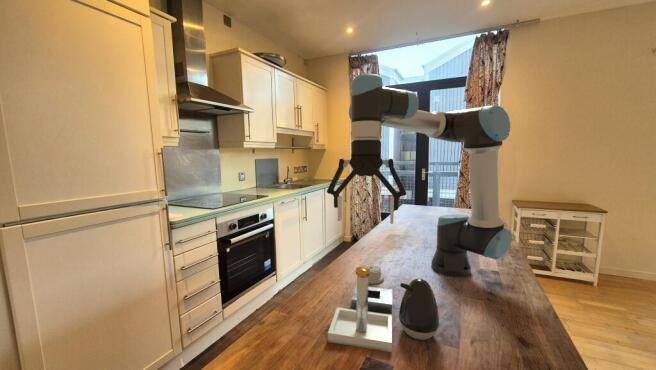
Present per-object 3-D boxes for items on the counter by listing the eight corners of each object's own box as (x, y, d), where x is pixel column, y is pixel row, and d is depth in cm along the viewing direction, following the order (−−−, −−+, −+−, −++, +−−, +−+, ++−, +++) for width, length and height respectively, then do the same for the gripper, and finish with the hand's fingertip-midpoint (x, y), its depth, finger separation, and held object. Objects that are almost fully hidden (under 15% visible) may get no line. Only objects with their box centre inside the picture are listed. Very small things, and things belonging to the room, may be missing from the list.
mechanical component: (357, 283, 102) (384, 285, 101) (357, 272, 102) (384, 274, 100) (358, 272, 112) (383, 274, 110) (358, 262, 112) (383, 263, 110)
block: (391, 302, 89) (392, 289, 88) (391, 318, 80) (392, 304, 79) (355, 298, 91) (355, 285, 91) (351, 313, 83) (351, 299, 82)
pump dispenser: (392, 322, 78) (394, 272, 76) (427, 320, 79) (429, 270, 77) (405, 347, 68) (407, 289, 66) (445, 345, 69) (448, 288, 67)
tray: (391, 322, 78) (391, 314, 78) (391, 352, 66) (391, 342, 66) (337, 315, 82) (337, 307, 81) (327, 341, 70) (327, 332, 70)
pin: (368, 326, 75) (370, 267, 73) (367, 335, 72) (369, 272, 70) (355, 324, 76) (357, 265, 74) (354, 332, 73) (355, 271, 71)
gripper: (416, 139, 70) (413, 220, 73) (322, 141, 76) (322, 215, 78) (419, 138, 63) (416, 227, 65) (315, 139, 68) (315, 222, 71)
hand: (365, 221), depth 72 cm, fingers open, 13 cm apart
